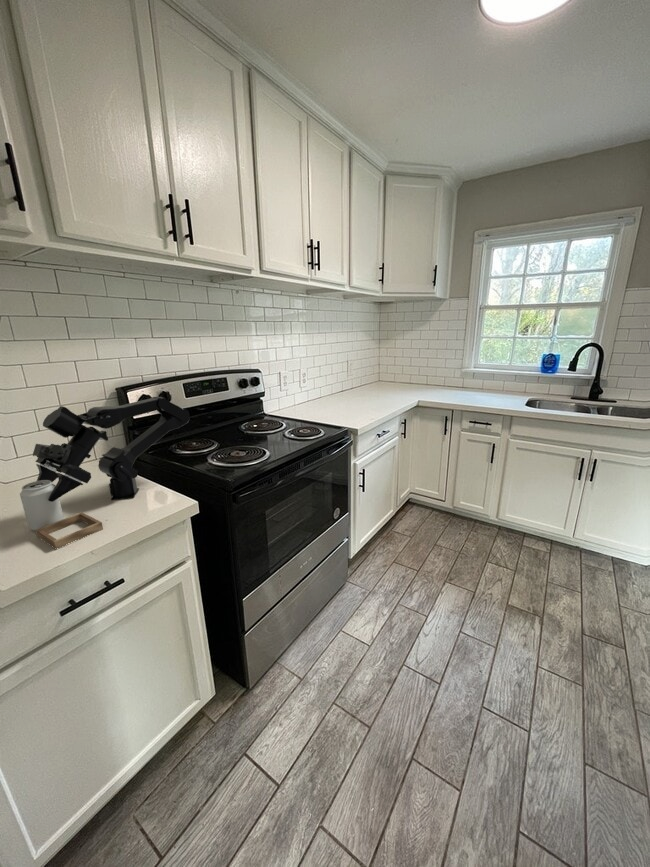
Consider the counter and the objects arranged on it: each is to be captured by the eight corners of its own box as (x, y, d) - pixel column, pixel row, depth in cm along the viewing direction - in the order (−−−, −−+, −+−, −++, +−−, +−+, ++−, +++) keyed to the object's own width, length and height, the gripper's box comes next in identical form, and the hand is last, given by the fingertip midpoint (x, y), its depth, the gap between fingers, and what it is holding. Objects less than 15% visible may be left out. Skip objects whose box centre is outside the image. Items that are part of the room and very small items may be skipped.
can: (59, 515, 99) (50, 476, 96) (68, 524, 94) (58, 482, 91) (26, 526, 93) (14, 485, 90) (33, 536, 89) (21, 492, 86)
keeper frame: (83, 518, 97) (81, 512, 97) (103, 529, 92) (101, 522, 91) (37, 536, 88) (35, 529, 88) (56, 549, 83) (54, 542, 82)
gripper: (36, 426, 97) (-5, 477, 91) (68, 435, 87) (25, 493, 81) (74, 446, 105) (38, 493, 99) (107, 456, 96) (70, 509, 90)
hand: (42, 497), depth 92 cm, fingers open, 9 cm apart
